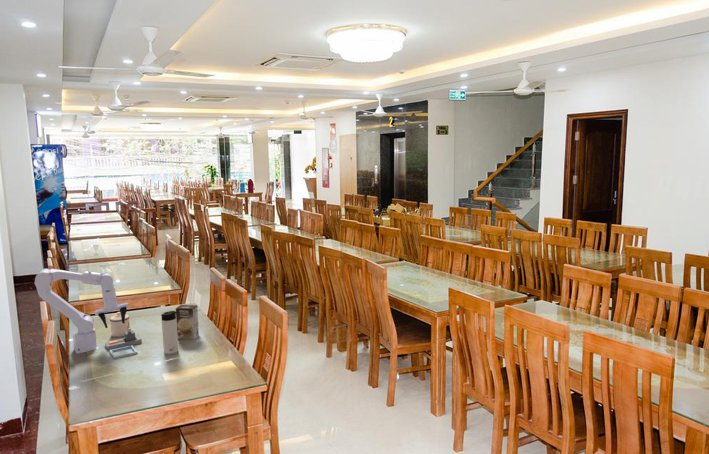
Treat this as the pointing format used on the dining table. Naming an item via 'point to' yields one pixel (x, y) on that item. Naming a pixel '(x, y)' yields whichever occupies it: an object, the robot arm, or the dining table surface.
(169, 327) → the travel mug
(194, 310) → the coffee box
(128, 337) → the plug
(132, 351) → the tray
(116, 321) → the teacup with lid
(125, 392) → the dining table surface
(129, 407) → the dining table surface
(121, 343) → the power strip
